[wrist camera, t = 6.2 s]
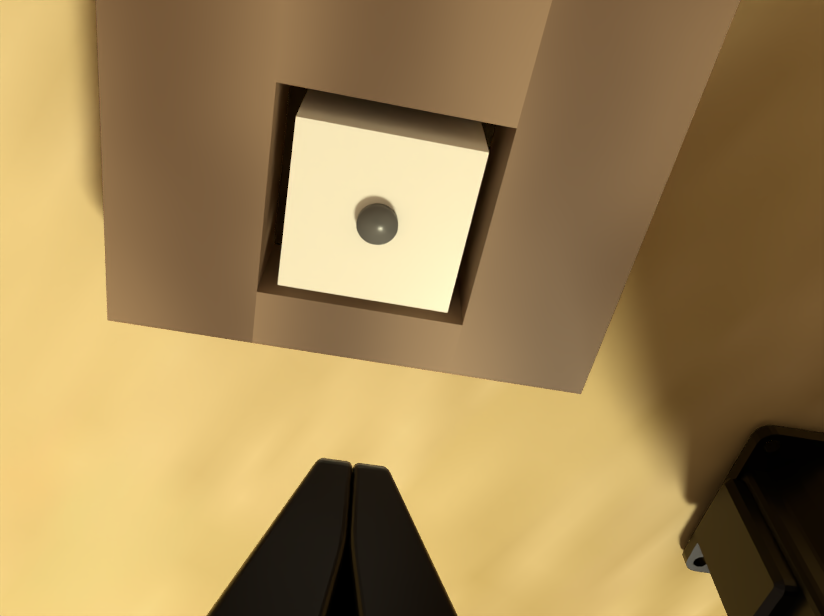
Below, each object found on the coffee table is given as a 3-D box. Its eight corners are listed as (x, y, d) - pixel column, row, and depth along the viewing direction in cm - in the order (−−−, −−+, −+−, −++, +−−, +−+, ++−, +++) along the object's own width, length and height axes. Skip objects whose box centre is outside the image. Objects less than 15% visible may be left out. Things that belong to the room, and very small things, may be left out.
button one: (480, 117, 17) (489, 156, 15) (443, 263, 19) (447, 317, 17) (310, 84, 17) (294, 119, 14) (292, 237, 19) (276, 289, 16)
